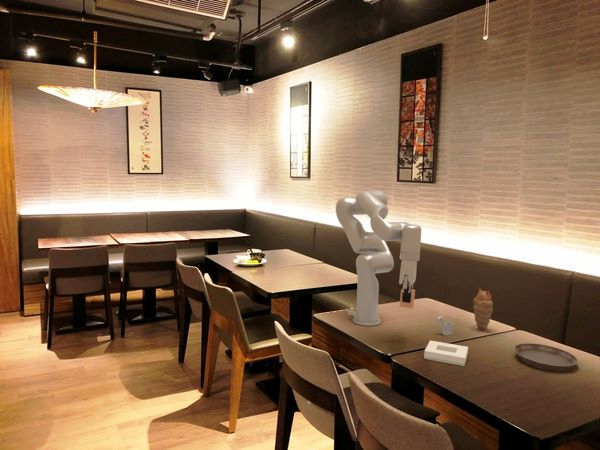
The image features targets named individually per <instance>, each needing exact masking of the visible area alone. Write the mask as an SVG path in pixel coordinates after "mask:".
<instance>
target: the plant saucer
mask: <svg viewBox="0 0 600 450" xmlns="http://www.w3.org/2000/svg"><path fill="white" fill-rule="evenodd" d="M513 350H514V352H515V354H516V356H517V357H518V358H519V359H520V360H521V361H522V362H524V363H525V364H527V365H529V366H532V367H535V368H536V369H537V368H538V369H542V370H546V371H552V372H553V371H554V372H555V371H556V372H562V371H567V370H570V369H572V368H573V367H575V366H576V365H577V364H578V362H579V361H578V360H579V359H578V358H577V357H576V356H575V355H574V354H573V353H570V352H569V351H566V350H564V349H561V348H558V347H555V346H550V345H546V344H540V343H529V342H527V343H526V342H524V343H520V344H515V346H514V347H513Z"/></svg>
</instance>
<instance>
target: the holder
mask: <svg viewBox="0 0 600 450" xmlns="http://www.w3.org/2000/svg"><path fill="white" fill-rule="evenodd" d="M423 352H424V354H423V355H424V356H423V359H424V360H429V361H434V362H440V363H445V364H451V365H456V366H461V367H465V366H466V361H467V358H468V356H469V355H468V354H469V346H466V345H459V344H453V343H448V342H447V343H446V342H441V341H435V340H429V342H428V344H427V346H426V347H425V349H424V351H423Z"/></svg>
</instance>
